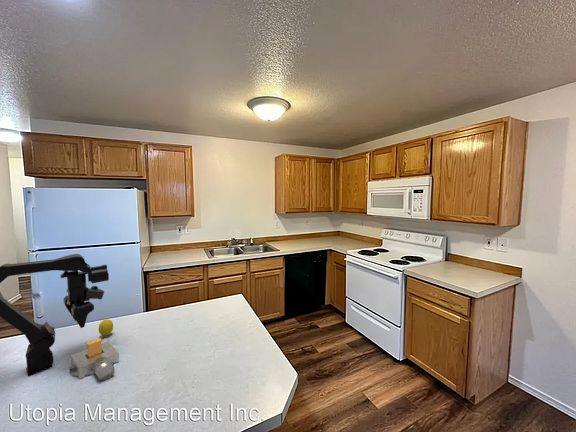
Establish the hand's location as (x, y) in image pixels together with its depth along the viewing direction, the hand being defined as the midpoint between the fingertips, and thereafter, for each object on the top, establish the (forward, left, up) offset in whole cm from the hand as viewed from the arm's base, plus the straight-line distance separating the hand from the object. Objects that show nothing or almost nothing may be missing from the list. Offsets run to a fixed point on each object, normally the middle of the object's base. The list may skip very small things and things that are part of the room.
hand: (79, 323), depth 101 cm
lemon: (+11, +9, -13) cm, 19 cm away
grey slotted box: (+2, -14, -13) cm, 19 cm away
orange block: (+2, -11, -12) cm, 17 cm away
